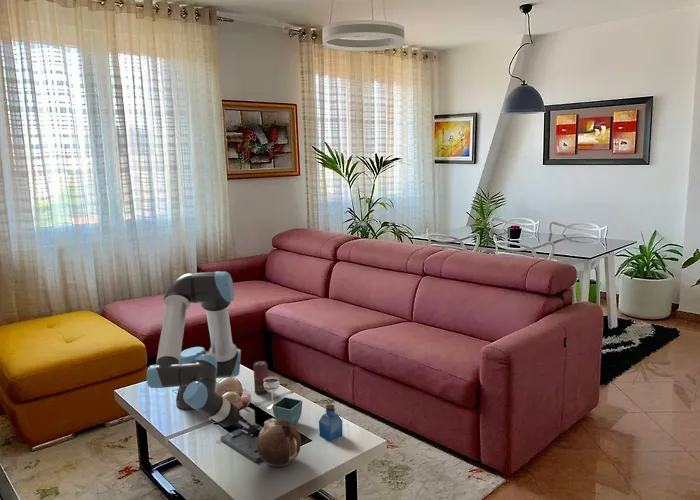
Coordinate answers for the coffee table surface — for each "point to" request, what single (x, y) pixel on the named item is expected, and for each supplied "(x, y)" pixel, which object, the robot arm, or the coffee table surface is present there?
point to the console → (243, 443)
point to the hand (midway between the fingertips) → (265, 439)
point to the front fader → (269, 421)
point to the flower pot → (288, 410)
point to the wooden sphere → (278, 443)
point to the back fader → (248, 416)
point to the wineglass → (271, 387)
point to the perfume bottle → (330, 425)
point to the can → (260, 376)
